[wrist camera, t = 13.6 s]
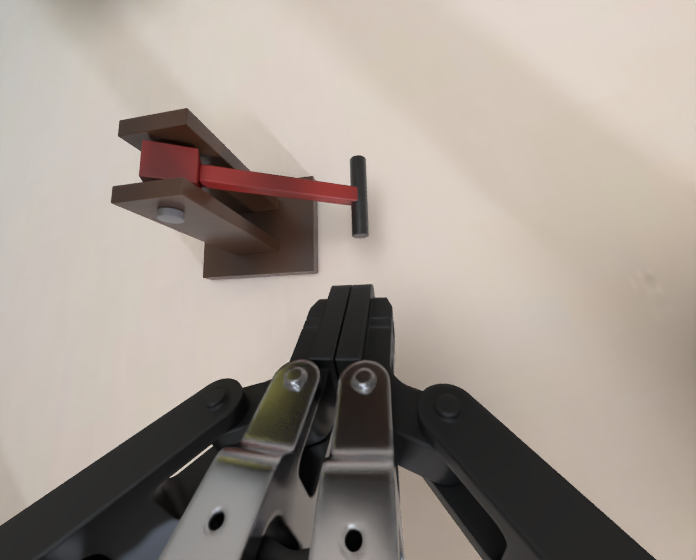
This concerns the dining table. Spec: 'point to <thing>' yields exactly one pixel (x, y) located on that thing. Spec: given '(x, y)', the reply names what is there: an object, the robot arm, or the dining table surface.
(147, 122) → the rod stand
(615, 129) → the dining table surface
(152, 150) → the lever handle
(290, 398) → the robot arm
